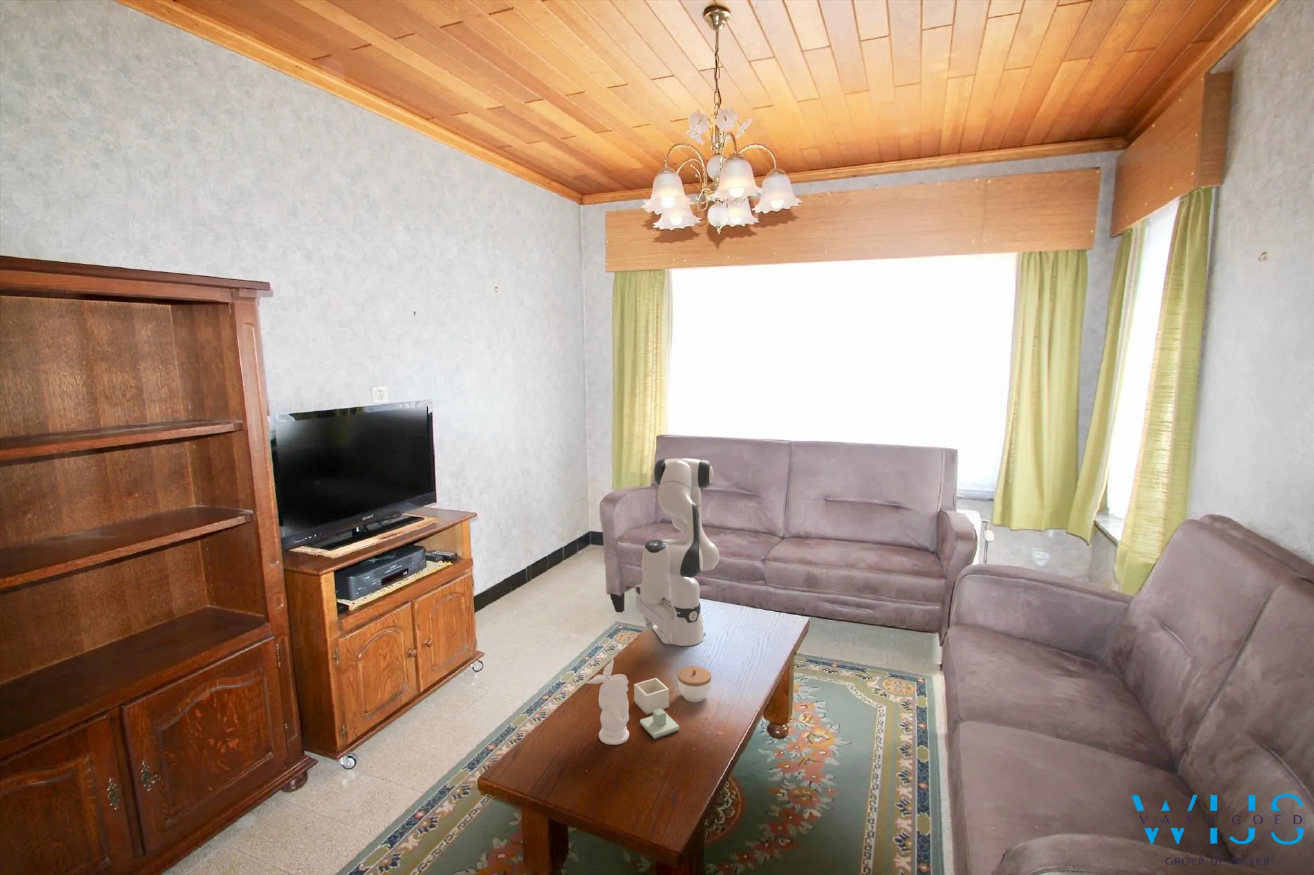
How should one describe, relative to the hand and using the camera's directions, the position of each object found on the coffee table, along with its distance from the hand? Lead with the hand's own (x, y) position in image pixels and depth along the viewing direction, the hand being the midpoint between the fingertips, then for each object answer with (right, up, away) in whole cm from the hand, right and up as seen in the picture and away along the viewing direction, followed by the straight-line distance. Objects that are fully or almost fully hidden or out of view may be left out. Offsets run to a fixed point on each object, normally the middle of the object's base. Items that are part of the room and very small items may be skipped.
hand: (656, 635), depth 191 cm
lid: (+1, -23, -12) cm, 26 cm away
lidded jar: (+12, -22, +5) cm, 25 cm away
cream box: (-2, -22, 0) cm, 22 cm away
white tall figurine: (-14, -24, -16) cm, 32 cm away
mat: (+1, -23, -12) cm, 26 cm away
